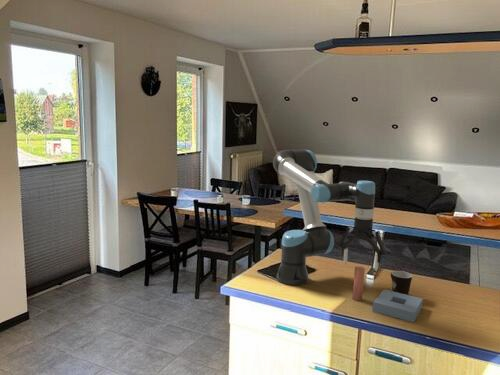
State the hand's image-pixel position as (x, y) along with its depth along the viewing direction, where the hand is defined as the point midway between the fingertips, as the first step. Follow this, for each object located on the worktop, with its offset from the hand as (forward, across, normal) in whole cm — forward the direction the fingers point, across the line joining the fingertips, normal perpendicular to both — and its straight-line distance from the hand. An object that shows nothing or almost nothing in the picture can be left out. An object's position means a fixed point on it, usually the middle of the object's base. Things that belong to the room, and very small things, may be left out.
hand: (360, 266), depth 179 cm
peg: (+15, 0, 0) cm, 15 cm away
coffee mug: (+15, +13, +17) cm, 26 cm away
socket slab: (+15, +16, 0) cm, 22 cm away
